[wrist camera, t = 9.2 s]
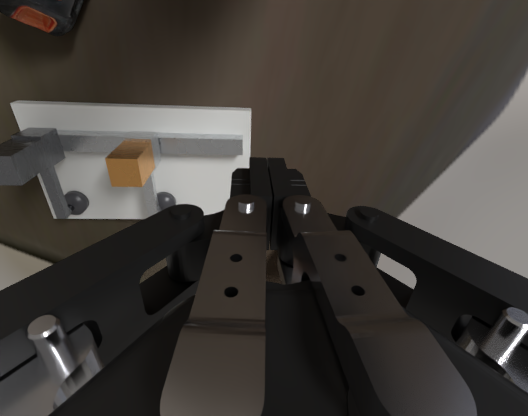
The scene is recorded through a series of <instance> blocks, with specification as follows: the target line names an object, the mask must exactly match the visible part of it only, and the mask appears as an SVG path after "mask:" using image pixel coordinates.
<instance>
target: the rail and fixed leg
mask: <svg viewBox="0 0 528 416" xmlns="http://www.w3.org/2000/svg"><path fill="white" fill-rule="evenodd" d="M128 133H129V132H122V131H85V130H57V129H56V128H30V127H29V128H27V129H24V130H22V131H20V132H18V133H16V134H14V135H11V138H12V139H10V140H8V141H6V142H4V143H1V144H0V185H23V184H25V183H26V182H28V181H29V180H31V179H32V178H33V177H35V176H36V175H38V174H39V173H40V175H41V178H42V180H43V183H44V186H45V188H46V191H47V194H48V196H49V199H50V202H51V204H52V207H53V210H54V212H55V215H56V218H57V219H67V218H68V217H69V216H70V215H71V214H70V213H71V212H72V211H73V210H74V209H75V207H74V206H73V205H71V204H68V205H67V203H66V200H65V197H64V194H63V191H62V188H61V185H60V182H59V179H58V176H57V173H56V170H55V168H54V166H55V165H56V164H57V163H59V162H60V161H62V160H63V159H64V158H65V154H64V151H70V152H112V151H113V150H114V149H115V148H117V147H118V146H119V145H120V144H121V143H122V142H123V138H124V137H125V136H126V135H127V134H128ZM157 133H158V140H159V147H160V153H162V154H208V155H243V135H235V134H197V133H160V132H157Z"/></svg>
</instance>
